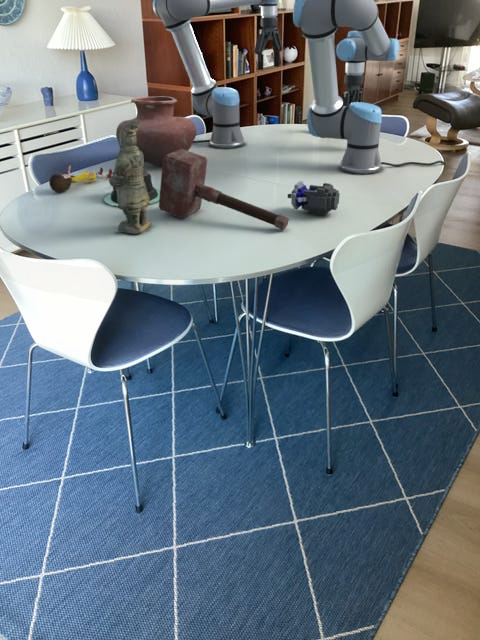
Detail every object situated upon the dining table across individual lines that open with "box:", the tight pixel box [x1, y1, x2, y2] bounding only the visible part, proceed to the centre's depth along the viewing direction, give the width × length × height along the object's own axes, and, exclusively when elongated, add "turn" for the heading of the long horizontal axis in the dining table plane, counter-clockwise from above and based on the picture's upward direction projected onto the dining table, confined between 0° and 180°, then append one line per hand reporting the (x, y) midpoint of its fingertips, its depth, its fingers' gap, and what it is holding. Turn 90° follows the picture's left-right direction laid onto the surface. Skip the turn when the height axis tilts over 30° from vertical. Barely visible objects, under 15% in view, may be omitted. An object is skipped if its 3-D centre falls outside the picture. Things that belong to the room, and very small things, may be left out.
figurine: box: [48, 164, 113, 193], centre depth 199 cm, size 13×8×25 cm
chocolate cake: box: [103, 168, 160, 207], centre depth 186 cm, size 15×19×20 cm
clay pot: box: [115, 95, 197, 166], centre depth 218 cm, size 30×30×25 cm
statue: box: [108, 121, 153, 235], centre depth 154 cm, size 11×9×30 cm
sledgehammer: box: [158, 149, 290, 231], centre depth 163 cm, size 17×10×40 cm
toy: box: [287, 180, 341, 216], centre depth 168 cm, size 9×9×15 cm
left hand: (268, 68), depth 261 cm, fingers open, 13 cm apart
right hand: (349, 133), depth 235 cm, fingers closed on brick, 6 cm apart
